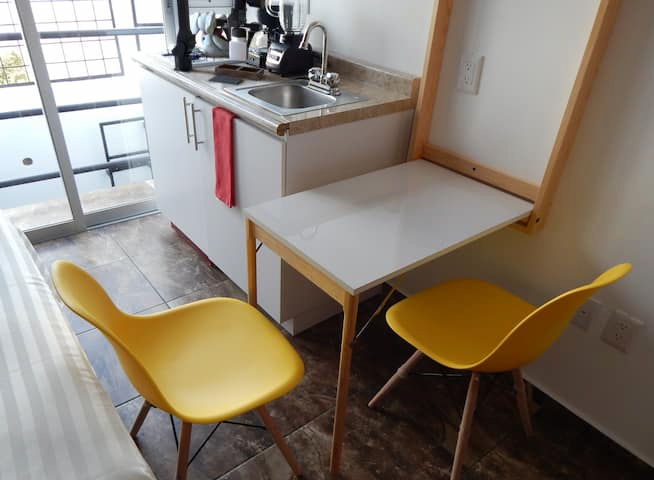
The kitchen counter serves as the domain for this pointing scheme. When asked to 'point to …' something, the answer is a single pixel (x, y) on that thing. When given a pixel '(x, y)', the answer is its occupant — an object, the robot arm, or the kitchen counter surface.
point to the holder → (239, 71)
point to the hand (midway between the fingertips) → (239, 47)
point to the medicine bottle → (239, 45)
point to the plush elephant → (210, 35)
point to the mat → (226, 79)
